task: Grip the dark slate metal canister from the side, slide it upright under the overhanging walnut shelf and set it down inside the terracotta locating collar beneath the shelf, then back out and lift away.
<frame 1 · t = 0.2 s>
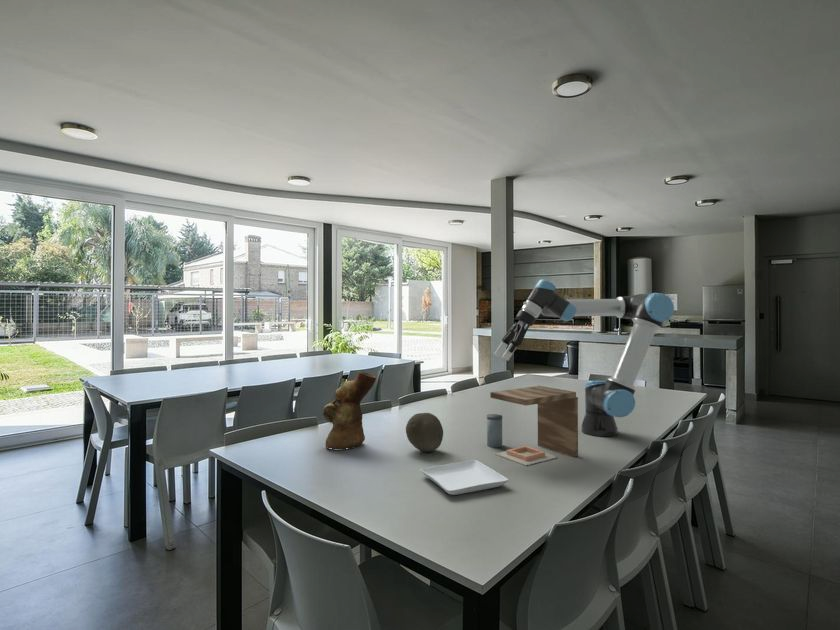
hand: (500, 357, 191), 35 cm above the table, tool tilted 35°, fingers open, 13 cm apart
salad plate: (463, 484, 149), on the table
seat collar: (525, 456, 175), on the table
shelf: (533, 456, 174), on the table
cantaloupe: (424, 452, 181), on the table
ceramic vessel: (350, 445, 191), on the table
canister: (494, 445, 189), on the table
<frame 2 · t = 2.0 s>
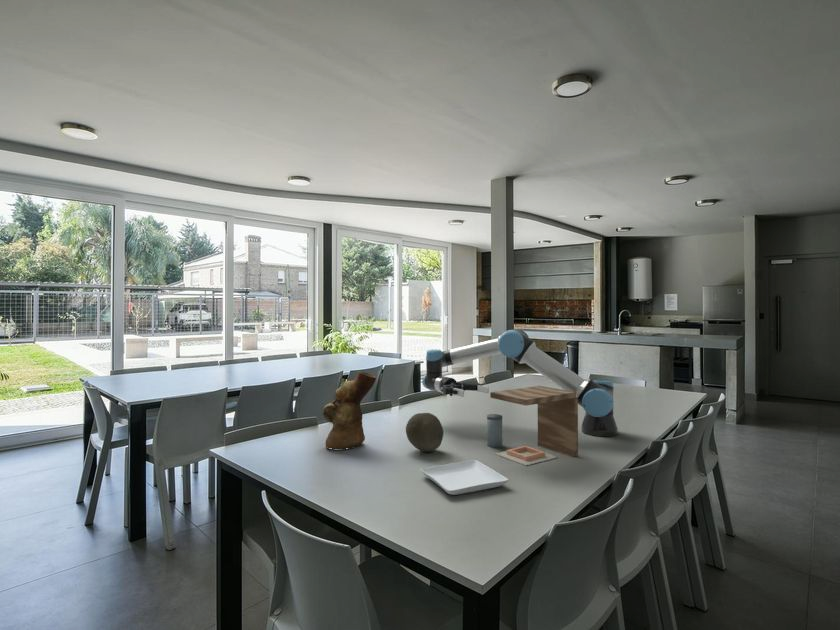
hand: (475, 391, 199), 20 cm above the table, tool horizontal, fingers open, 13 cm apart
nothing on the table moved.
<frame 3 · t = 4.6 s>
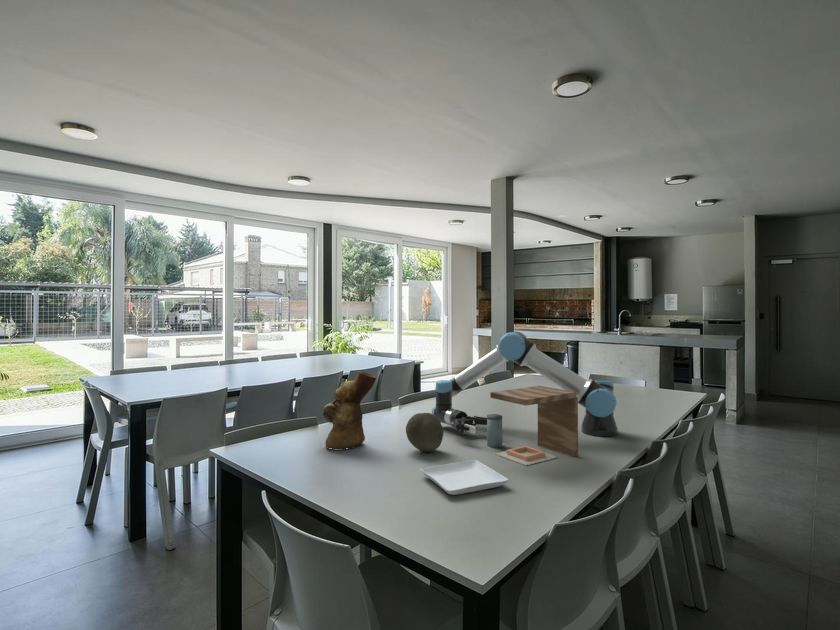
hand: (488, 428, 192), 6 cm above the table, tool horizontal, fingers open, 13 cm apart
nothing on the table moved.
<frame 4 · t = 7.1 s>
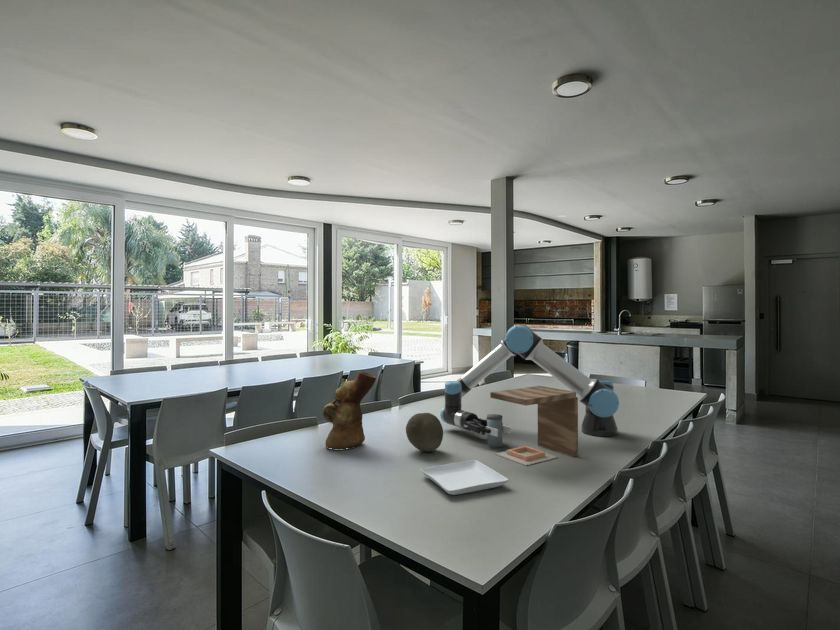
hand: (503, 431, 185), 7 cm above the table, tool horizontal, fingers closed on canister, 6 cm apart
canister: (494, 445, 189), on the table, touching gripper
everything else where it was.
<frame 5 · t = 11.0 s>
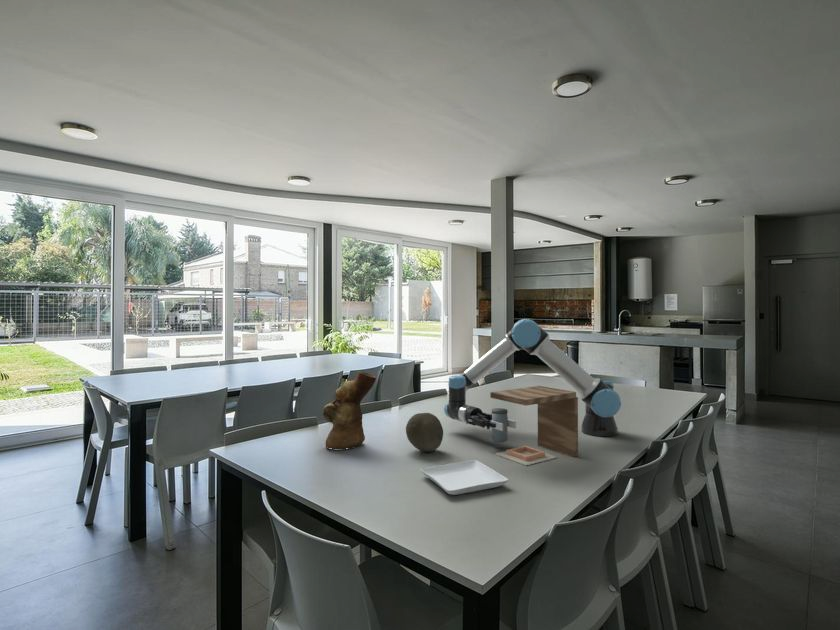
hand: (508, 426, 181), 10 cm above the table, tool horizontal, fingers closed on canister, 6 cm apart
canister: (499, 440, 186), point 3 cm above the table, touching gripper
everything else where it was.
when the fingers open (8 cm above the table, at t = 15.2 s): canister stays where it is, resting on seat collar.
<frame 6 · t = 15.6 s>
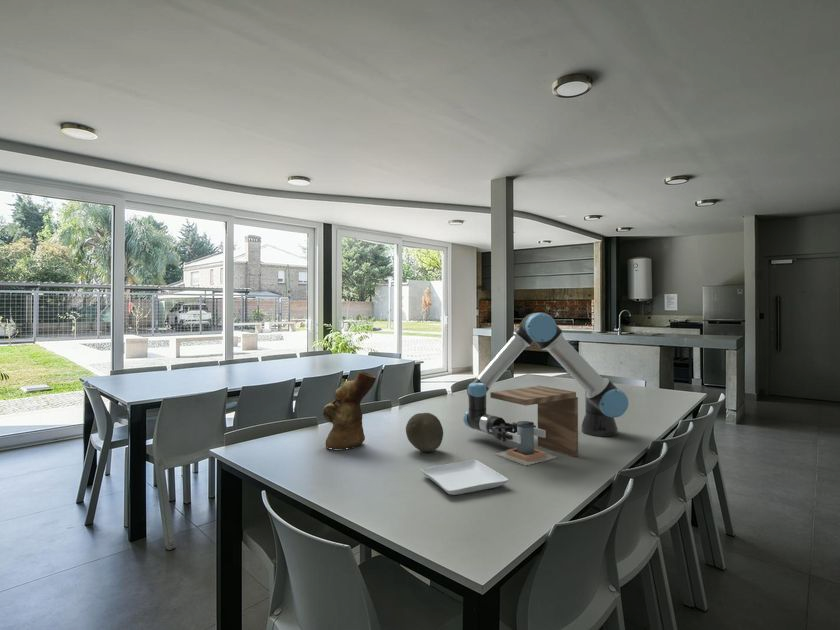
hand: (532, 436, 172), 8 cm above the table, tool horizontal, fingers open, 12 cm apart
canister: (525, 455, 175), resting on seat collar
everything else where it was.
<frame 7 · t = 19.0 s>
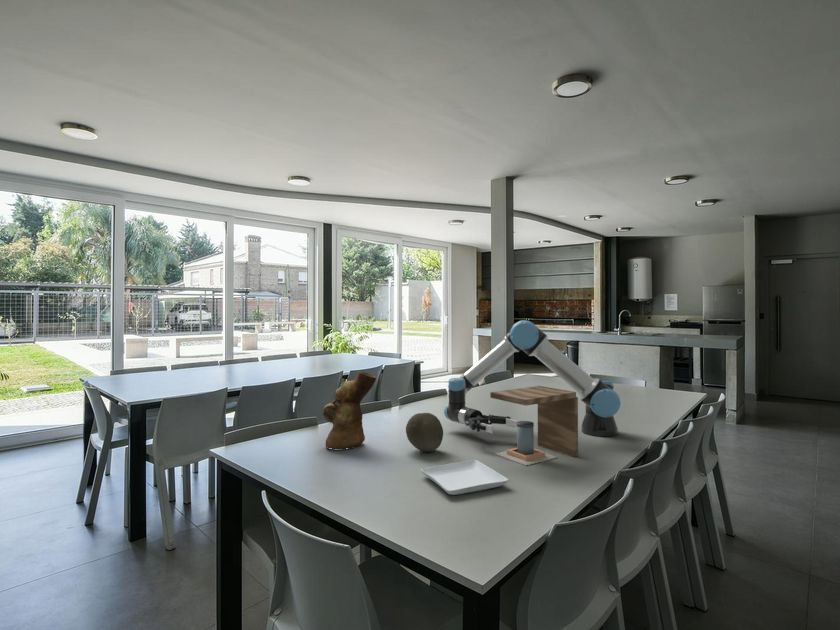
hand: (505, 427, 184), 9 cm above the table, tool horizontal, fingers open, 13 cm apart
nothing on the table moved.
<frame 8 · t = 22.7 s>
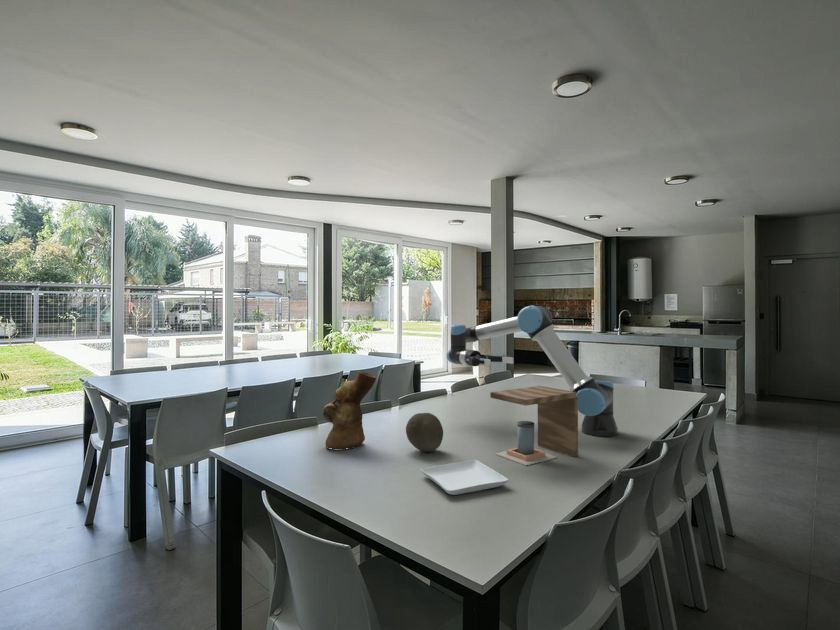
hand: (501, 361, 205), 32 cm above the table, tool horizontal, fingers open, 13 cm apart
nothing on the table moved.
at the end: canister 0.1 cm off-centre on the seat collar, point 0.4 cm above the seat collar's base; canister tilted 1°; the gripper is holding nothing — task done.
